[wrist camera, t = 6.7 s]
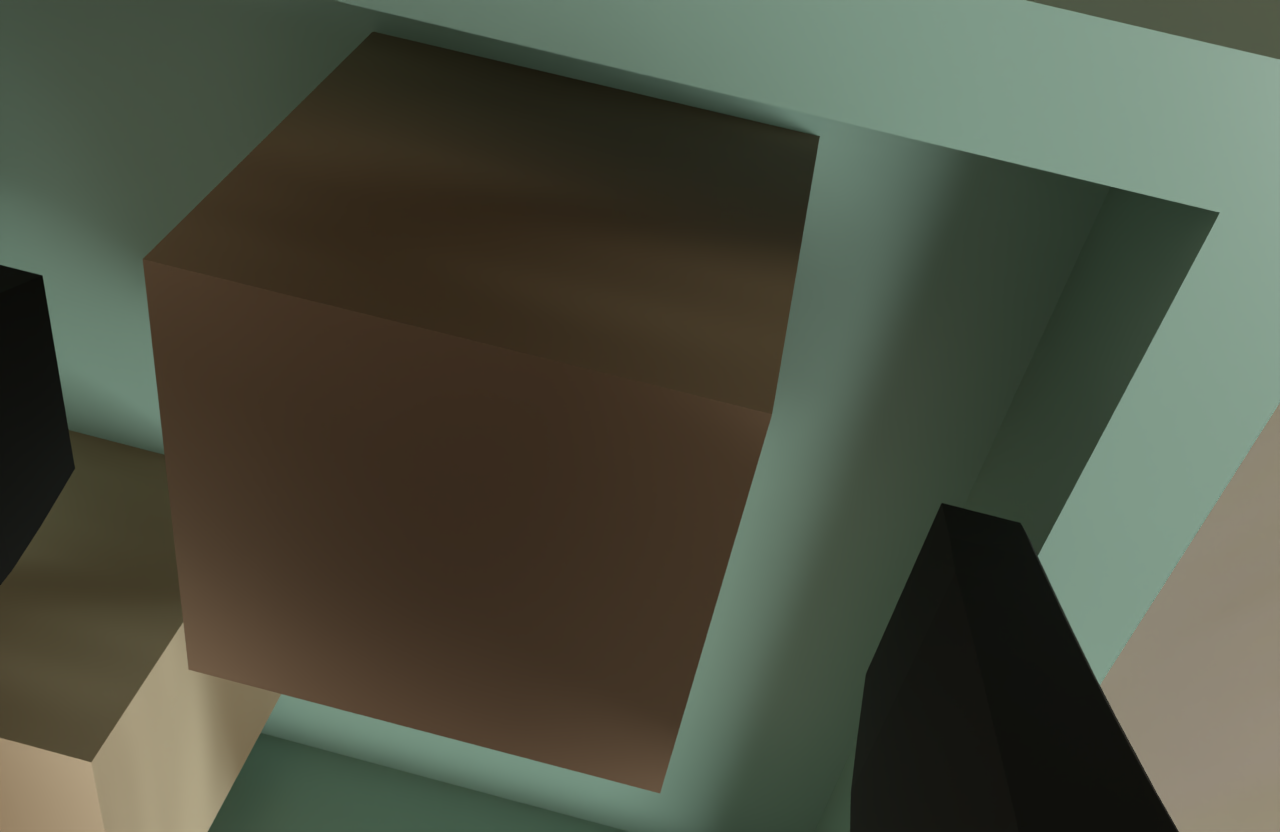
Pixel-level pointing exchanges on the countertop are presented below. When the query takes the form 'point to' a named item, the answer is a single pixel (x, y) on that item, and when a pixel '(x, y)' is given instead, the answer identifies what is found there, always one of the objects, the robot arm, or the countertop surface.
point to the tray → (815, 338)
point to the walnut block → (475, 399)
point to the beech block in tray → (111, 667)
